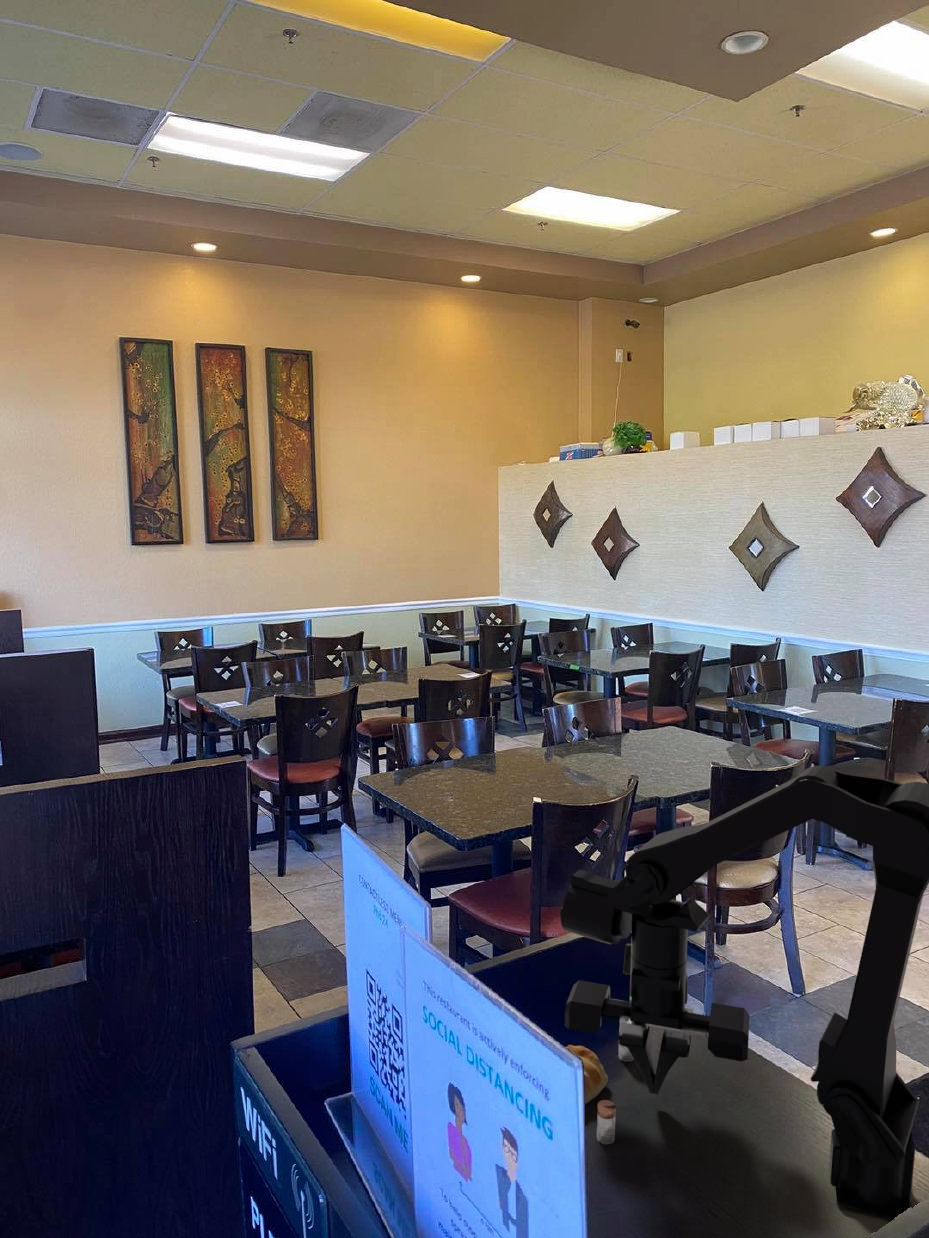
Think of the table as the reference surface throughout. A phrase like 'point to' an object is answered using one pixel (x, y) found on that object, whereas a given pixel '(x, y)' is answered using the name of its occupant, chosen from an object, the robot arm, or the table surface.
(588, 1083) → the pastry
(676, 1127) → the table surface
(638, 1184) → the table surface
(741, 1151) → the table surface
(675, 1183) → the table surface
